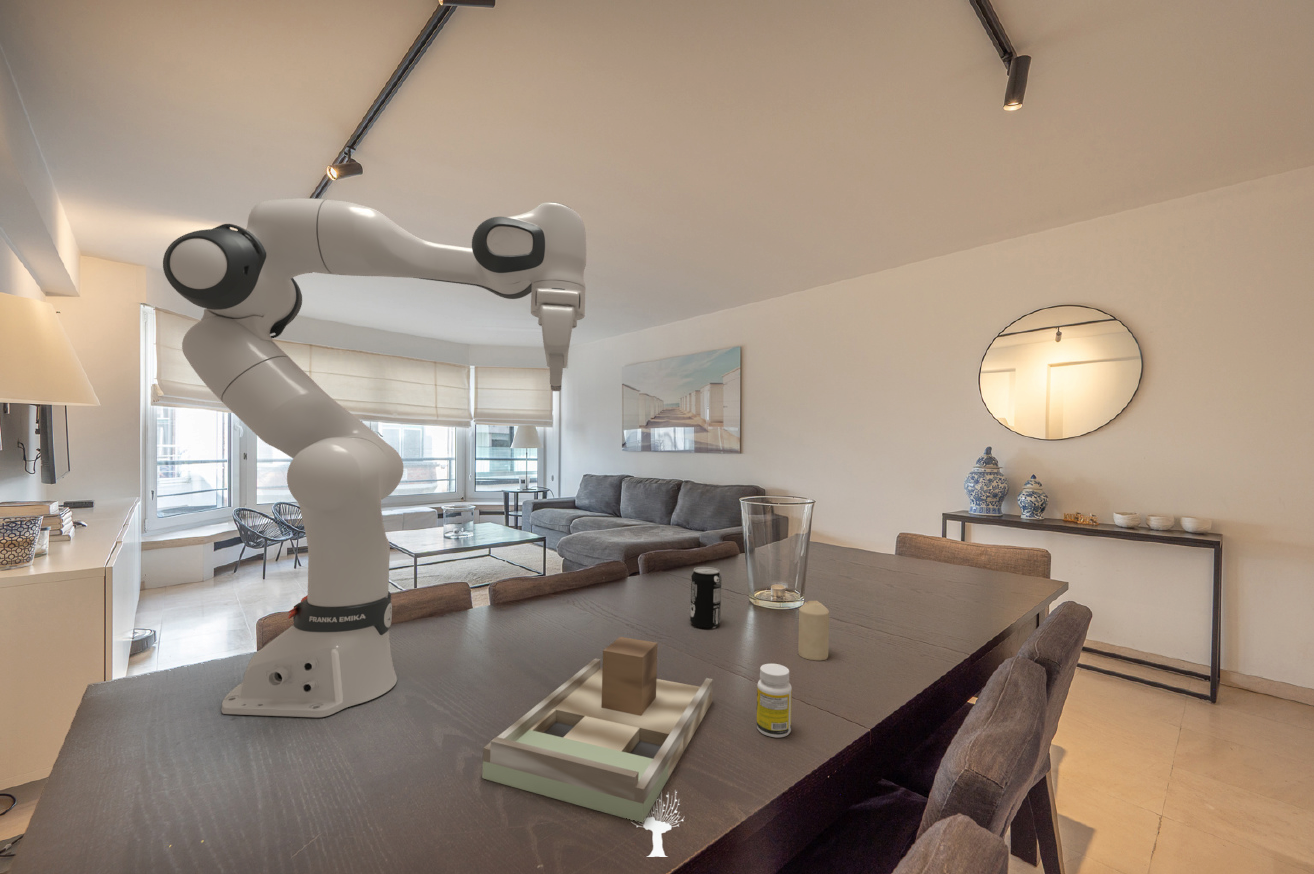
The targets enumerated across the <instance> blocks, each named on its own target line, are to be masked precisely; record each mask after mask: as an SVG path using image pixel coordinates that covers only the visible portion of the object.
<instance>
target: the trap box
mask: <svg viewBox="0 0 1314 874" xmlns="http://www.w3.org/2000/svg"><path fill="white" fill-rule="evenodd" d="M713 681H714V680H713V678H708V677H706V678H705V679H704V681H703V682H702V684H701V685H700V686H697V685H693V684H686V683H682V682H681V683H680V682H677V681H672V680H671V681H669V680H667V679H666V680H665V679H660V678H657V681H656V698H655V699H654V700H653V702H652V703H651V704H650V705H649V707H648V708H647V709H646V710H645V712H644V713H643V714H642V715H641V716H639V715H634V714H630V713H625V712H620V711H615V710H610V709H606V708H601V703H602V668H601V658H600V659H599V658H594V659H592V660H591V661H590V662H589V663H588V664H586V665H585V666H584V667H582V668H581V669H580V670H579V671H578V672H576V673H575V674H573V676H571V677H570V678H568V679H567V680H566V681H565V682H563V683H562V684H561V685H560V686H559V687H557V688H556V689H555V690H554V691H552V692H551V693H550V694H548V695H547V696H546V697H545V698H543V700H541V701H540V702H539V703H537V704H536V705H535V706H533V707H532V709H531V708H530V709H529V711H528V712H526V713H525V714H523V716H521V717H520V718H519V719H517V720H516V721H515V722H514V723H513V724H511V725H510V726H509V727H507V728H506V729H505V730H504V731H503V732H501V733H500V734H499V735H497V736H495V737H494V738H493V739H492V740H490V742H489V743H488V744H486V745H484V747H483V748H482V762H483V761H485V762H489V763H492V764H496V765H500V766H504V767H507V768H511V769H515V770H519V771H522V772H526V773H530V774H534V775H537V776H541V777H545V778H548V779H552V780H556V781H560V782H563V783H567V784H571V785H575V786H578V787H582V788H586V789H590V790H593V791H597V792H601V793H605V794H608V795H612V796H616V797H620V798H623V799H627V800H631V801H635V802H638V803H642V804H644V802H645V800H646V799H647V797H648V795H649V794H650V792H651V790H652V789H653V787H654V785H655V784H656V782H657V780H658V779H659V777H660V775H661V774H662V772H663V770H664V769H665V767H666V765H667V764H668V779H669V778H670V777H671V775H672V774H673V771H674V769H675V768H676V766H677V764H678V763H679V761H680V759H681V757H682V755H683V754H684V752H685V750H686V749H687V747H688V746H689V743H690V741H691V739H692V738H693V736H694V735H695V733H696V731H697V729H698V728H699V725H701V722H702V721H703V719H704V717H705V716H706V713H707V712H708V710H709V709H710V707H711V705H712V703H713V684H714V682H713ZM528 730H533V731H537V732H541V733H545V734H550V735H554V736H558V737H562V738H566V739H571V740H575V741H579V742H583V743H588V744H592V745H596V746H600V747H605V748H609V749H613V750H617V751H622V752H626V753H630V754H634V755H639V756H643V757H647V758H651V759H653V760H652V762H651V763H650V765H649V766H648V768H647V769H646V771H645V772H644V774H643V775H642V777H641V778H640V780H639V781H638V777H639V772H636V771H632V770H628V769H624V768H620V767H616V766H612V765H608V764H604V763H600V762H596V761H592V760H588V759H584V758H580V757H576V756H572V755H568V754H564V753H559V752H555V751H551V750H547V749H543V748H539V747H535V746H531V745H527V744H523V743H519V742H515V741H516V740H517V739H519V738H520V737H521V736H522V735H523V734H524V733H526V732H527V731H528Z"/></svg>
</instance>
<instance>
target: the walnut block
mask: <svg viewBox="0 0 1314 874" xmlns="http://www.w3.org/2000/svg"><path fill="white" fill-rule="evenodd" d="M601 667H602V668H601V669H602V703H601V708H606V709H610V710H615V711H620V712H625V713H630V714H634V715H639V716H641V715H642V714H643V713H644V712H645V710H646V709H647V708H648V707H649V705H650V704H651V703H652V702H653V700H654V699H655V698H656V681H657V679H658V678H657V677H658V671H657V670H658V642H656V641H650V640H643V639H636V638H629V637H624V636H619V637H618V638H617V639H615V640H614V641H613V642H612V643H611V644H609V645H608V646H606V648H604V649H603V650H602V666H601Z"/></svg>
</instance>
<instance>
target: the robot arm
mask: <svg viewBox="0 0 1314 874" xmlns="http://www.w3.org/2000/svg"><path fill="white" fill-rule="evenodd" d="M231 228H232V229H231ZM162 259H163V260H162V268H163V274H164V276H165V278H166V279H167V281H168V283H169V284H170V285H171V287H172V288H173V289H174V290H175V291H176V292H177V293H178V294H179V295H180V296H182V297H183V298H184V299H185V300H187V301H188V302H190V303H192V304H194V305H196V306H197V307H199V308H203V315H202V318H201V320H200V321H198V322H196V323H195V324H193V325H192V326H191V327H190V328H189V329H188V331H187V332H186V333H185V334H184V336H183V339H182V342H181V346H182V347H181V349H182V354H183V355H184V357H185V359H186V360H187V362H188V363H189V365H190V366H191V368H192V369H193V370H194V372H195V373H196V374H197V376H198V377H199V378H200V380H202V382H203V383H204V385H206V386H207V388H208V389H209V390H210V391H211V392H212V393H213V394H214V396H216V397H217V398H218V399H219V400H220V402H221V403H222V404H224V405H225V407H227V409H228V410H230V411H231V412H232V413H233V414H235V416H236V417H237V418H238V419H239V420H240V421H241V422H243V423H244V425H246V427H248V428H249V429H250V430H251V431H252V432H253V433H254V434H255V435H256V436H257V437H258V438H260V440H262V442H264V443H265V444H267V445H269V446H270V447H273V448H274V449H277V450H279V451H281V452H282V453H283V454H286V455H287V456H289V457H290V458H292V460H291V462H290V463H289V466H288V468H287V473H286V482H287V487H288V490H289V492H290V494H291V496H292V498H294V499H295V500H296V502H297V504H298V506H299V509H300V510H299V511H300V514H301V520H302V523H303V528H304V533H305V537H306V544H307V553H308V555H307V557H308V559H307V561H308V563H307V568H308V569H307V595H306V596H304V597H302V598H301V600H300V602H298V603H297V604H295V605H294V606H293V608H292V609H290V610H289V611H288V613H289V614H288V616H287V617H288V619H289V620H290V619H292V618H293V619H292V621H293V623H292V625H291V626H290V627H289V628H287V629H286V630H284V631H283V632H282V633H280V634H279V635H277V636H276V637H275V638H274V639H272V640H271V641H269V642H268V643H267V644H266V645H264V646H263V647H261V648H260V650H258V651H257V652H256V653H255V654H254V655H253V656H252V657H251V659H250V660H249V662H248V664H247V666H246V668H245V671H244V672H245V673H244V675H243V679H242V682H241V683H239V684H238V685H237V686H235V687H234V688H233V689H231V690H230V691H229V692H228V693H227V694H226V696H225V697H224V698H223V700H222V703H221V707H220V709H221V711H220V712H221V713H222V714H225V715H239V716H240V715H242V716H243V715H245V716H246V715H247V716H267V717H268V716H269V717H270V716H273V717H295V718H296V717H299V718H324V717H328V716H331V715H333V714H336V713H338V712H340V711H342V710H344V709H347V708H348V707H352V706H356V705H359V704H364V703H367V702H368V701H372V700H373V699H376V698H378V697H380V696H382V695H384V694H386V693H388V692H389V691H390V690H392V688H394V687H395V685H396V684H397V682H398V676H397V673H396V671H395V668H394V663H393V659H392V657H393V656H392V652H391V651H392V649H391V643H390V631H389V630H391V629H390V628H391V625H392V618H393V617H392V616H393V615H392V614H393V604H392V594H391V592H390V591H389V589H390V588H389V585H390V583H389V582H390V554H391V552H390V549H391V545H390V541H389V539H388V538H387V535H386V530H385V525H384V520H383V519H384V518H383V513H382V500H384V499H385V498H387V497H388V496H390V495H391V494H392V493H393V492H394V491H395V490H396V489H397V487H398V486H399V484H400V483H401V480H402V478H403V475H404V462H403V459H402V457H401V455H400V453H399V452H398V450H396V449H395V448H394V447H392V445H390V444H389V443H387V442H386V441H385V440H383V439H382V438H381V437H380V436H379V435H378V434H377V433H376V432H375V431H373V430H372V429H371V428H370V427H369V426H368V425H367V424H365V423H364V422H363V421H361V420H360V419H359V418H358V417H357V416H355V415H354V414H353V413H351V412H350V411H349V410H347V409H346V408H345V407H343V405H341V404H340V403H338V402H337V401H336V400H334V398H332V397H331V396H330V395H329V394H328V393H326V392H325V390H323V388H321V387H320V386H319V384H318V383H316V382H315V381H314V379H312V378H311V376H309V375H308V374H307V373H306V371H304V370H303V369H302V368H301V367H300V366H299V365H298V364H297V363H296V362H295V361H294V360H293V359H292V358H291V357H290V356H289V355H288V354H287V353H285V352H284V350H283V349H282V348H280V347H279V345H278V344H277V343H276V342H275V341H274V340H273V339H275V338H277V337H279V336H280V335H281V334H282V333H283V332H284V330H285V329H286V327H287V326H288V325H290V324H291V323H292V322H293V320H294V319H295V318H296V316H298V314H299V312H300V310H301V308H302V305H303V295H302V291H301V288H300V287H299V285H298V283H297V281H296V280H295V278H296V277H297V276H298V277H299V275H305V274H313V273H317V274H325V275H335V276H338V275H339V276H351V277H352V276H353V277H355V276H356V277H388V278H411V279H412V278H413V279H420V280H427V281H428V280H429V281H435V282H444V283H452V284H459V285H460V284H461V285H468V286H473V287H479V288H482V289H484V290H486V291H488V292H490V293H492V294H494V295H496V296H499V297H501V298H503V299H508V300H517V299H518V300H519V299H521V298H524V297H526V296H528V295H529V294H530V295H531V296H530V314H531V315H532V316H533V317H536V318H538V321H537V324H538V326H539V327H541V333H542V342H543V343H542V344H543V350H544V354H545V360H546V361H545V362H546V366H547V367H548V368H549V385H550V390H551V392H561V391H562V379H563V370H564V369H565V368H567V366H568V359H569V349H570V343H571V337H572V331H573V329H576V328H577V325H578V321H581V320H582V319H584V318H585V316H586V315H585V313H586V285H585V284H586V283H585V280H584V279H585V278H584V273H585V269H586V266H587V236H586V227H585V224H584V221H583V218H582V217H581V215H580V214H579V213H578V212H577V211H575V210H574V209H572V207H570V206H568V205H565V204H563V203H559V202H554V201H553V202H552V201H551V202H550V201H549V202H548V201H546V202H543V203H540V204H539V205H537V206H536V207H535V208H533V209H531V210H529V211H527V212H526V211H525V212H524V213H520V214H516V215H510V216H494V217H490V218H487V219H486V220H483V221H482V222H481V223H480V224H479V225H478V226H477V227H476V229H475V231H474V232H473V234H472V239H471V247H465V246H458V245H452V244H451V245H450V244H446V243H445V244H444V243H437V242H433V241H432V242H431V241H429V240H425V239H423V238H420V237H417V236H416V235H414V234H413V233H411V232H409V231H408V230H406V229H405V228H403V227H402V226H400V225H398V224H397V223H396V222H394V221H393V220H392V219H391V218H390V217H388V216H386V215H385V214H384V213H382V212H381V211H379V210H377V209H376V208H373V207H369V206H366V205H363V204H359V203H356V202H351V201H345V200H337V199H326V198H325V199H324V198H311V197H310V198H308V197H307V198H306V197H305V198H304V197H299V198H297V197H295V198H293V197H292V198H278V199H270V200H269V199H268V200H263V201H261V202H258V203H256V205H254V206H253V208H252V209H251V211H250V212H249V215H248V219H247V225H246V228H244V227H242V226H239V225H236V224H233V223H223V224H220V225H218V226H215V227H213V228H209V229H201V230H194V231H191V232H188V233H185V234H183V235H181V236H180V237H179V236H178V237H177V238H176V239H175V240H173V241H172V242H171V243H170V244H169V246H168V247H167V248H166V250H165V252H164V255H163V257H162ZM294 277H295V278H294ZM272 334H273V335H272Z"/></svg>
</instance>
